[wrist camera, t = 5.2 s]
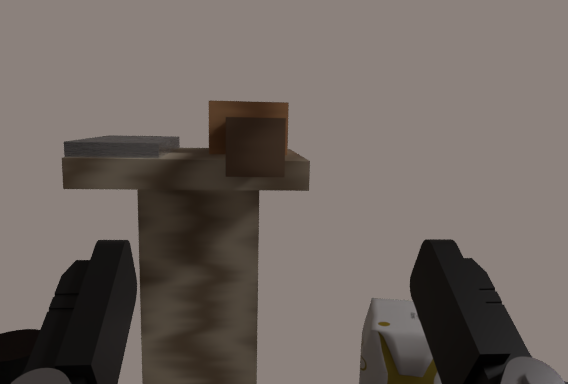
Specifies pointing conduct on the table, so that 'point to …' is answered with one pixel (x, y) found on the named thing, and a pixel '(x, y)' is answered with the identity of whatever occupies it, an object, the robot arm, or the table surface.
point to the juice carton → (395, 346)
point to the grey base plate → (121, 147)
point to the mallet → (249, 137)
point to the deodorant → (15, 353)
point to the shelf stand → (193, 258)
